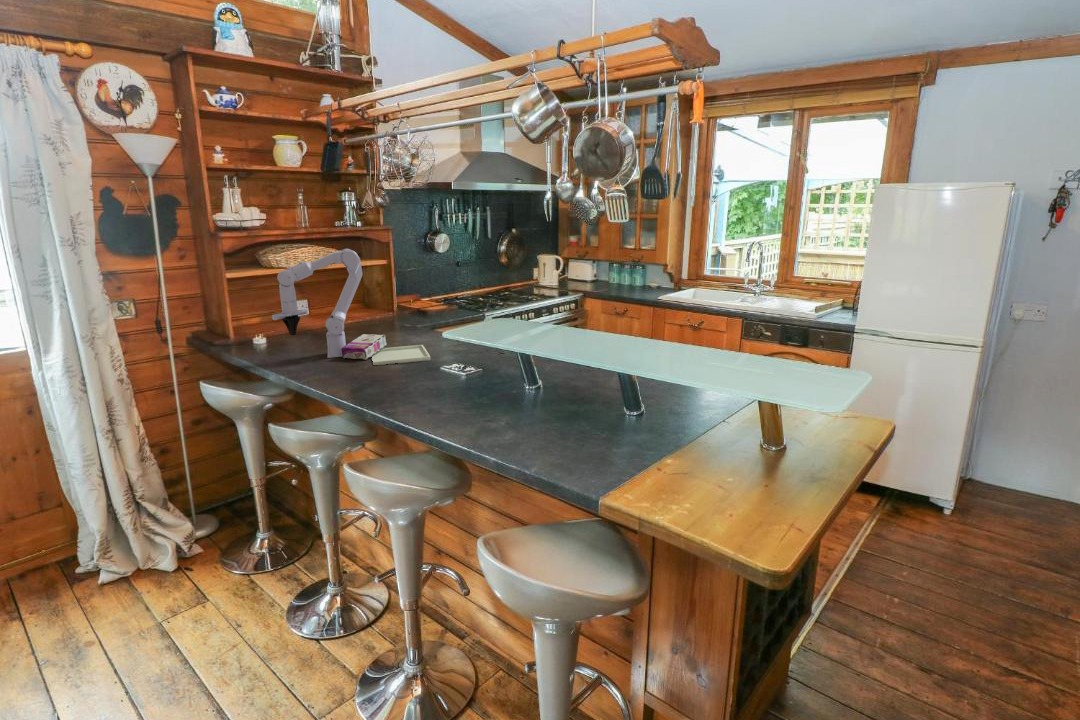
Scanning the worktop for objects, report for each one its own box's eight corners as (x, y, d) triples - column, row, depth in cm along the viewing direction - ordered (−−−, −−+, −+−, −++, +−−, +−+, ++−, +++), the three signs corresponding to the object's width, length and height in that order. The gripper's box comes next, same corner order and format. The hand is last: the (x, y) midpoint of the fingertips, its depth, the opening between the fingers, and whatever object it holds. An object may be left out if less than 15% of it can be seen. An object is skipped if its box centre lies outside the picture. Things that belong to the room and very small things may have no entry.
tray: (370, 352, 247) (370, 349, 247) (423, 348, 254) (422, 344, 254) (373, 365, 227) (373, 362, 227) (430, 360, 234) (430, 356, 234)
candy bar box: (366, 360, 235) (387, 345, 250) (364, 349, 233) (385, 334, 248) (342, 359, 239) (364, 344, 253) (340, 347, 237) (362, 333, 251)
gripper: (277, 304, 223) (282, 339, 227) (311, 299, 235) (314, 332, 239) (267, 303, 227) (271, 337, 231) (300, 297, 239) (304, 330, 242)
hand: (292, 334), depth 235 cm, fingers closed
